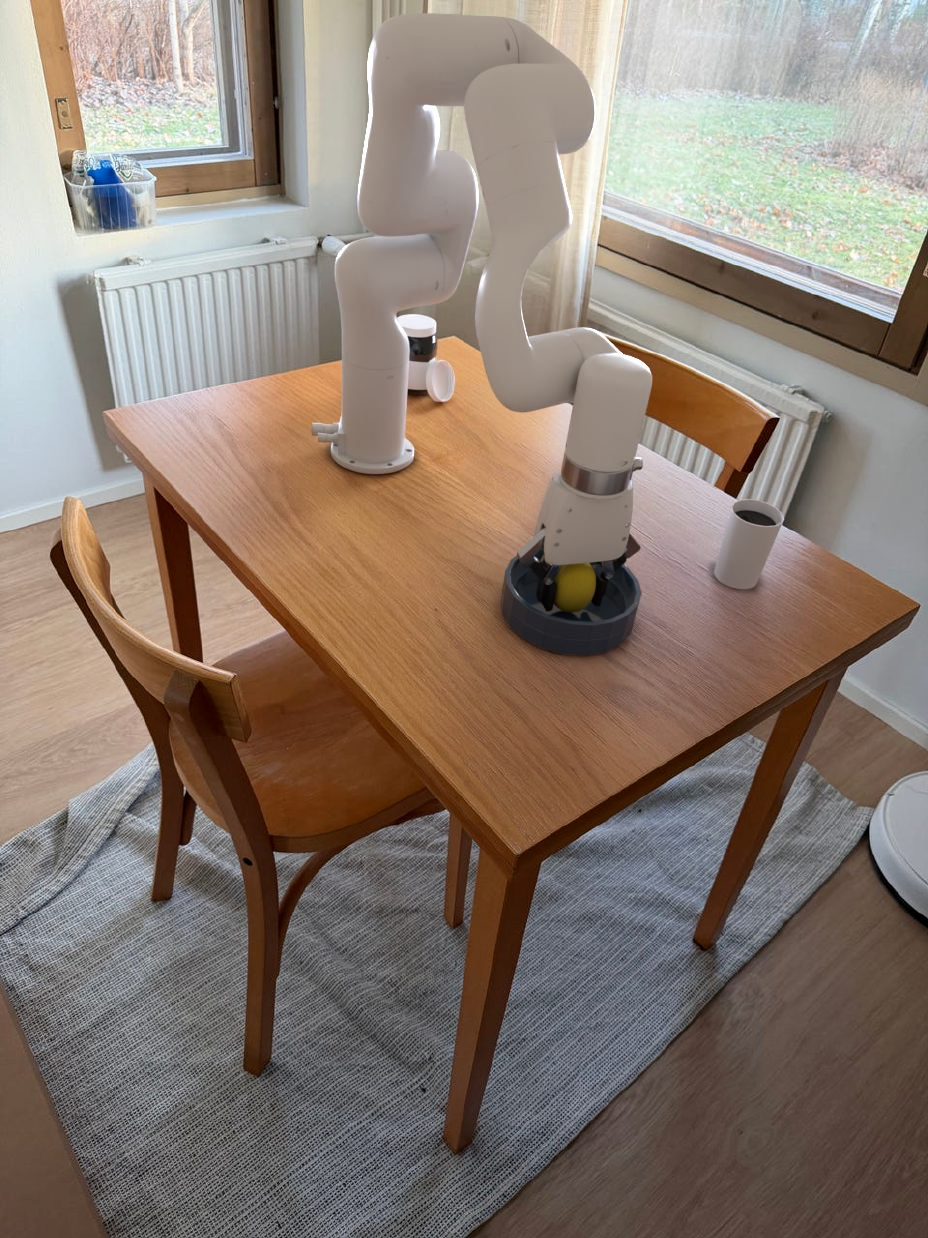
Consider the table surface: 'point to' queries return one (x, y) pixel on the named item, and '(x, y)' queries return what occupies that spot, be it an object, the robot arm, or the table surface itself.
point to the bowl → (570, 630)
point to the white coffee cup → (747, 542)
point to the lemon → (574, 587)
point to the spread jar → (426, 360)
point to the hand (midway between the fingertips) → (569, 600)
